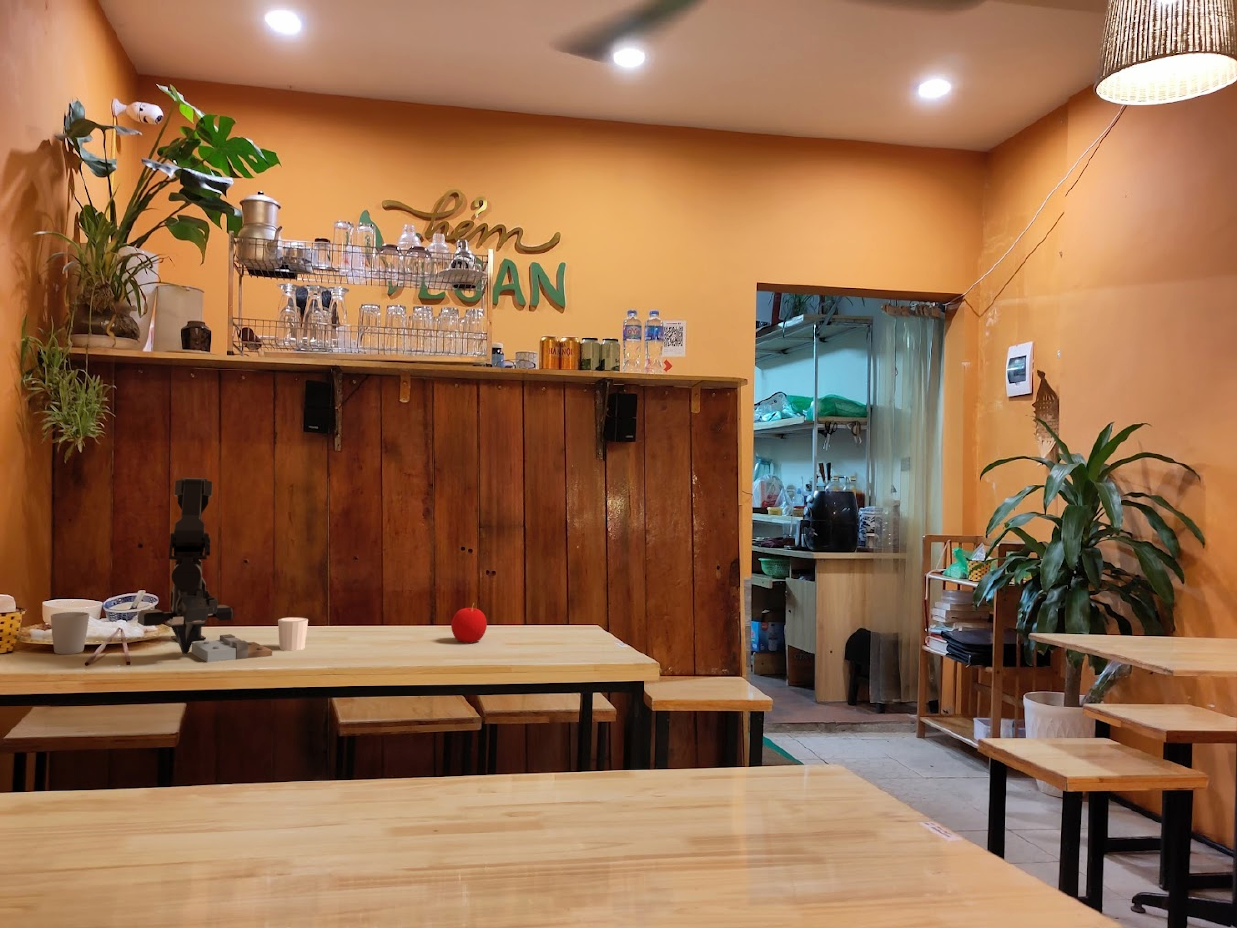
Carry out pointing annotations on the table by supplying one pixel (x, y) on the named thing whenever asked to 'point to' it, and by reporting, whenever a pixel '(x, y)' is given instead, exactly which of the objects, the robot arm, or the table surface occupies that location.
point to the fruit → (469, 625)
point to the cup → (69, 631)
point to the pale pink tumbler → (292, 633)
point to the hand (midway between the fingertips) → (184, 653)
